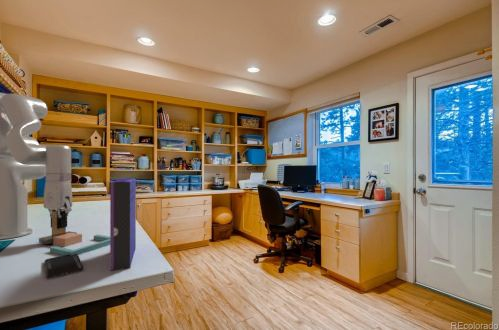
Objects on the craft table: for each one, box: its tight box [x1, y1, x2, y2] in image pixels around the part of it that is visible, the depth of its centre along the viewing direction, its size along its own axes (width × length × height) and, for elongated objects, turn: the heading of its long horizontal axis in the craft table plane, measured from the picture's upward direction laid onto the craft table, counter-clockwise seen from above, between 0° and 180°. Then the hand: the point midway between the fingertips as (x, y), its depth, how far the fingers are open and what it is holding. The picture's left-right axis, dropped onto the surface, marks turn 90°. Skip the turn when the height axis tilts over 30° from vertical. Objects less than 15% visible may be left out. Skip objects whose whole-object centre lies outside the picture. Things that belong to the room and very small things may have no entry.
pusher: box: [38, 210, 77, 245], centre depth 90 cm, size 10×5×11 cm, turn 157°
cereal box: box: [109, 177, 137, 272], centre depth 74 cm, size 17×5×24 cm, turn 21°
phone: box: [44, 254, 84, 280], centre depth 68 cm, size 8×1×15 cm
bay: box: [49, 234, 110, 256], centre depth 84 cm, size 11×16×2 cm
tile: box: [52, 232, 83, 248], centre depth 88 cm, size 6×6×3 cm
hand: (59, 226), depth 90 cm, fingers closed on pusher, 3 cm apart
